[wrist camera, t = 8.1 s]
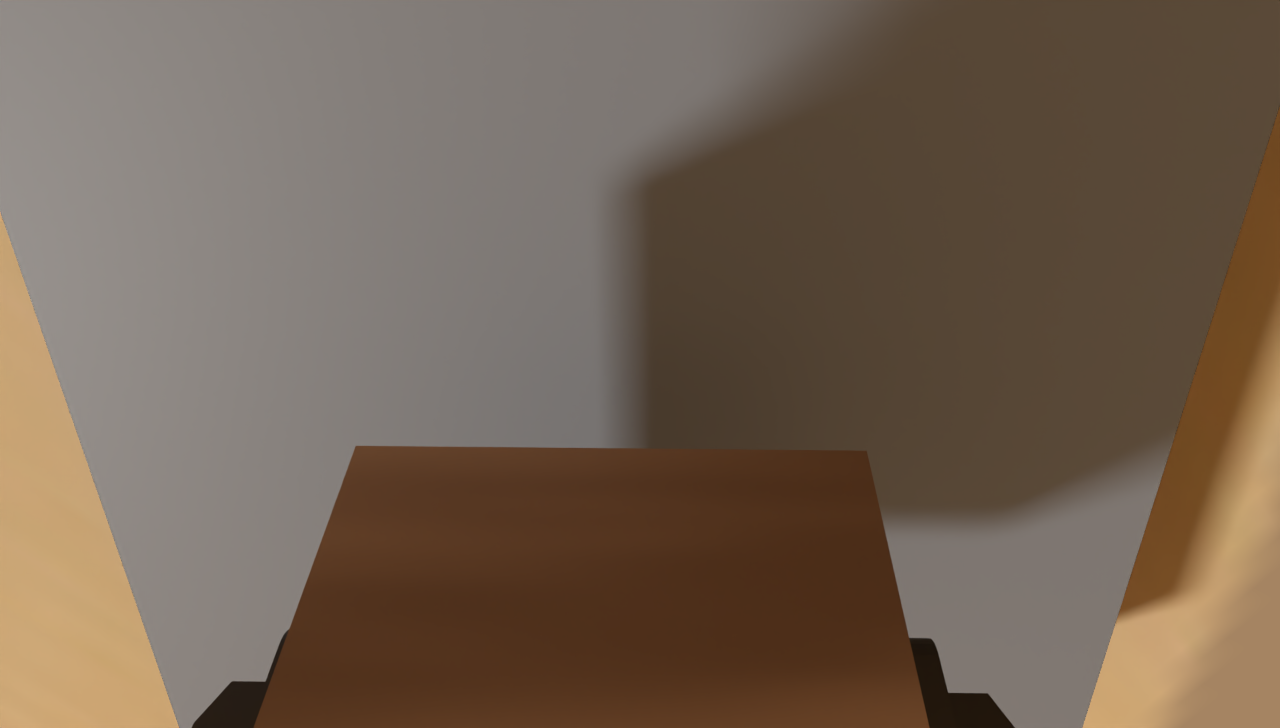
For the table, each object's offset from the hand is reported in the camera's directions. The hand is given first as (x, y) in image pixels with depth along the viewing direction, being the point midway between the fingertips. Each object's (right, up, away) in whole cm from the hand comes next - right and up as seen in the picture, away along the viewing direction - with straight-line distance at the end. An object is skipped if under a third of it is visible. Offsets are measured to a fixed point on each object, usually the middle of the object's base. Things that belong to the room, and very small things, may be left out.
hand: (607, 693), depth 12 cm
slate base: (0, +4, +6) cm, 7 cm away
